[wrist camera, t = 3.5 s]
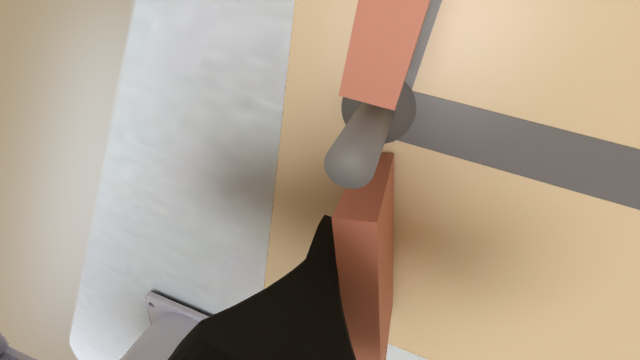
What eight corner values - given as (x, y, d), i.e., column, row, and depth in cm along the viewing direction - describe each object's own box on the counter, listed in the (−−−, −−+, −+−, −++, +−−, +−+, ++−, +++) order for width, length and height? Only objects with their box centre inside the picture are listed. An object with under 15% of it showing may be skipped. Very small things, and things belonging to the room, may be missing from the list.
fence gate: (393, 317, 15) (380, 416, 12) (369, 312, 16) (349, 407, 12) (394, 153, 11) (375, 230, 7) (361, 152, 12) (328, 224, 8)
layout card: (558, 406, 16) (561, 414, 15) (265, 289, 18) (262, 294, 18) (1210, -54, 5) (1257, -57, 5) (316, -164, 8) (312, -170, 8)
